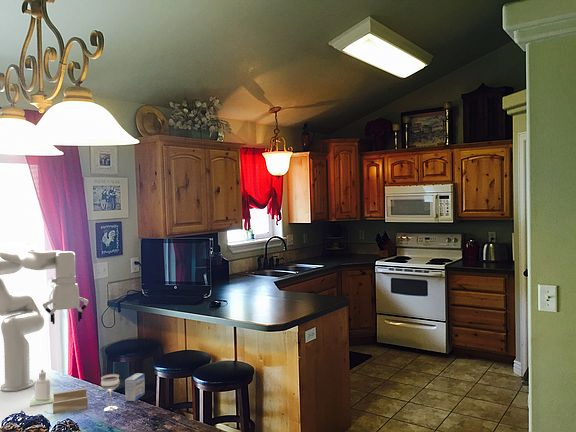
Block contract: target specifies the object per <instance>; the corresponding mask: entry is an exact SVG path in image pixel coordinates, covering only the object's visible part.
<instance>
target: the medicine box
mask: <svg viewBox="0 0 576 432" xmlns="http://www.w3.org/2000/svg"><path fill="white" fill-rule="evenodd" d="M145 384H146V382H145V373H140V372H139V373H138V372H137V373H134V374H132V375H130V376H129V377H127V378H126V379H124V392H125V393H124V394H125V401H128V402H136V401H138V400H139V399H141V398H142V397H143V396H144V395H145V394H146V391H145V389H146V388H145V387H146V386H145Z"/></svg>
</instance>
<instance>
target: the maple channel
mask: <svg viewBox="0 0 576 432" xmlns="http://www.w3.org/2000/svg"><path fill="white" fill-rule="evenodd" d="M87 391H88V389H87V388H81V389H80V388H79V389H73V390H66V391H61V392H55V393H53V394H54V402H53V403H52V414H53V415H55V414H56V415H57V414H61V413H66V412H68V413H69V412H73V411H74V412H75V411H77V410H83V409H84V410H85V409H88V403H89V402H88V398H89V397H88V396H87V395H88V393H87Z"/></svg>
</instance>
